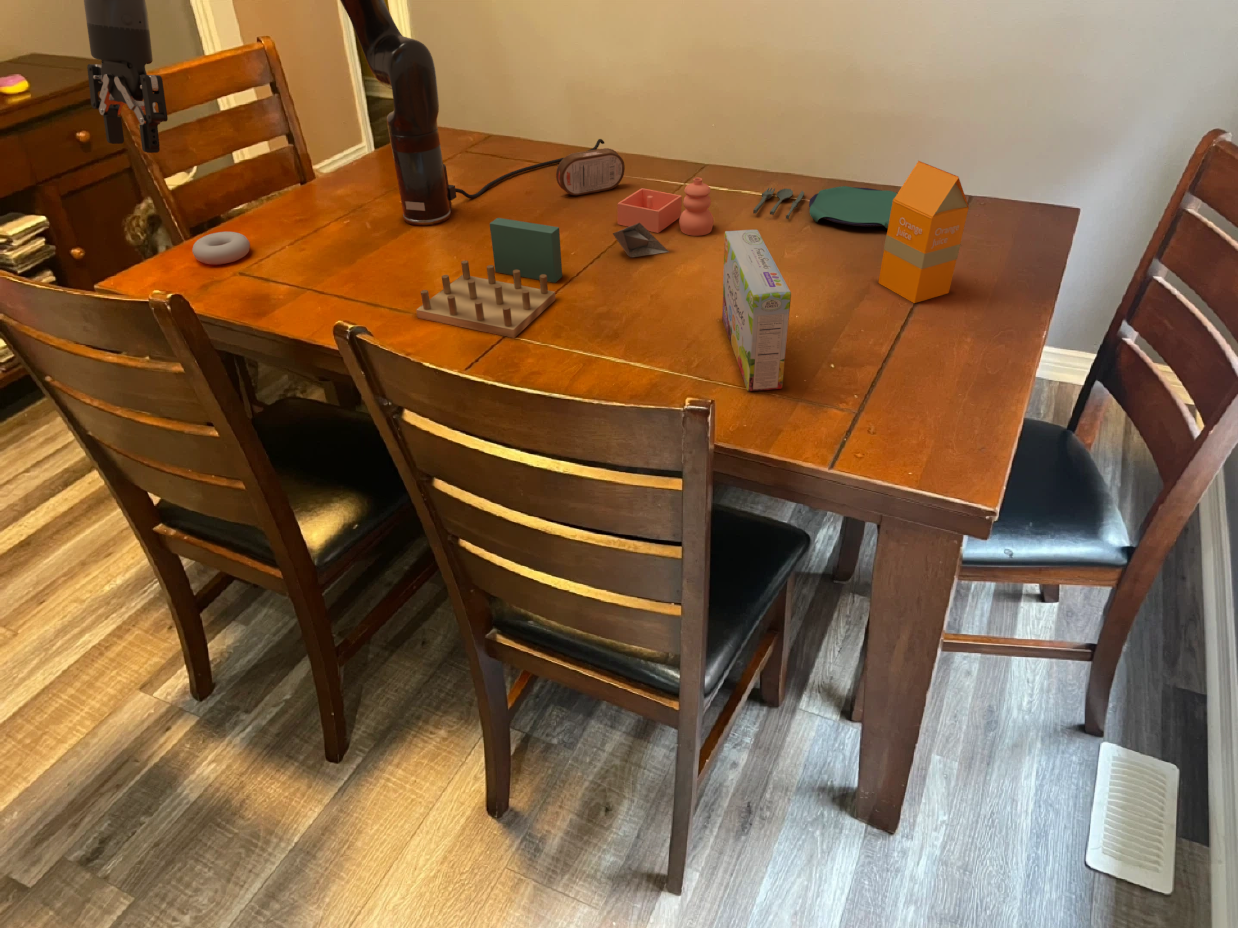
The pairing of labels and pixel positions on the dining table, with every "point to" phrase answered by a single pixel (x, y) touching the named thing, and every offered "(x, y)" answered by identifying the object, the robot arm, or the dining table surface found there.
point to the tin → (590, 171)
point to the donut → (221, 248)
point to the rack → (486, 303)
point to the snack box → (755, 309)
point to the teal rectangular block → (526, 249)
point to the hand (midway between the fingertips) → (133, 147)
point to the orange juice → (924, 234)
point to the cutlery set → (842, 205)
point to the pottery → (669, 209)
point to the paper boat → (638, 241)
